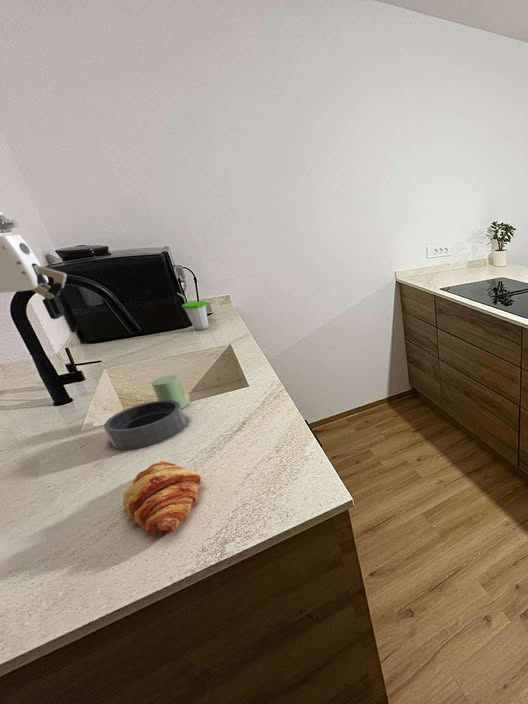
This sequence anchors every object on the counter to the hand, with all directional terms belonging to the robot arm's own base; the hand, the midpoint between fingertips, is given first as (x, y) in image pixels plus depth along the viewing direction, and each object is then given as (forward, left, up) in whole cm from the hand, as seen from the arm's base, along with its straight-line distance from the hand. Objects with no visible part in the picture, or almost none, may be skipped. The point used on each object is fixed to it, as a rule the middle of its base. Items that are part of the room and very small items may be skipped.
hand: (24, 320), depth 73 cm
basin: (+14, -7, -26) cm, 31 cm away
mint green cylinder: (+16, +4, -26) cm, 31 cm away
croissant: (+23, -34, -26) cm, 49 cm away
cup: (+10, +76, -26) cm, 81 cm away
